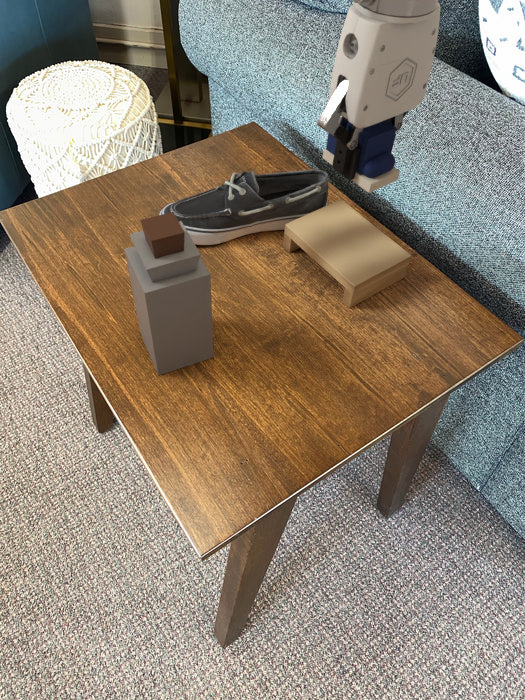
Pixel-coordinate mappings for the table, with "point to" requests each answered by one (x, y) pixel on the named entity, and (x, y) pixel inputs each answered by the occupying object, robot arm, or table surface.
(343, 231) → the shoe shelf
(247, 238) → the table surface
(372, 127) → the high-top sneaker
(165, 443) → the table surface
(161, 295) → the perfume bottle
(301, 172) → the boat shoe
